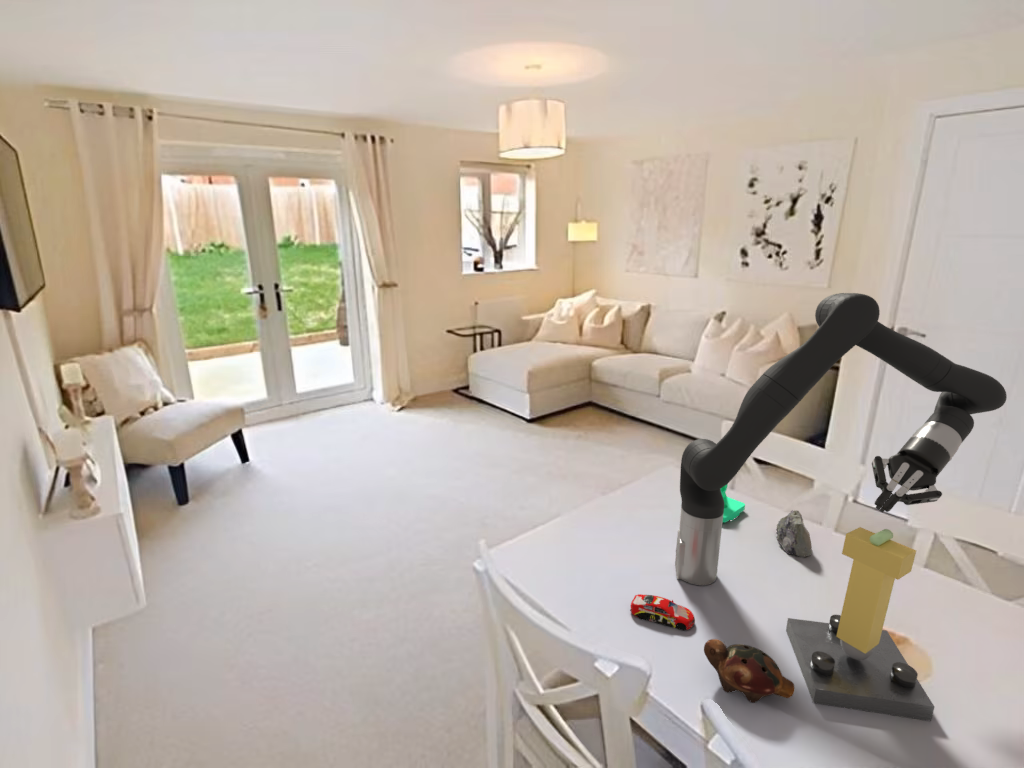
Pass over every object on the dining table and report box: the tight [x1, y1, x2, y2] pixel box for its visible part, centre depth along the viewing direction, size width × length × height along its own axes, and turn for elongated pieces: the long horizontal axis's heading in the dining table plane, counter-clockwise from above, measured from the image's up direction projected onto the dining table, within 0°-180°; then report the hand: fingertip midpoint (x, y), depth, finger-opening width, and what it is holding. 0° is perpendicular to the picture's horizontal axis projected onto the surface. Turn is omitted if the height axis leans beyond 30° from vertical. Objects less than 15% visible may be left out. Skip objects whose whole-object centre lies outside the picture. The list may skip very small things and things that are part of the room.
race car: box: [629, 593, 696, 632], centre depth 115 cm, size 13×5×4 cm, turn 65°
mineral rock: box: [775, 509, 813, 558], centre depth 140 cm, size 13×11×10 cm
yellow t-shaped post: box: [836, 526, 917, 660], centre depth 97 cm, size 5×9×25 cm, turn 33°
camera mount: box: [720, 483, 746, 523], centre depth 155 cm, size 12×8×10 cm, turn 130°
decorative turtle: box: [703, 638, 795, 704], centre depth 97 cm, size 10×15×8 cm, turn 68°
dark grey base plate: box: [785, 614, 935, 722], centre depth 100 cm, size 18×18×5 cm
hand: (880, 508), depth 105 cm, fingers closed
